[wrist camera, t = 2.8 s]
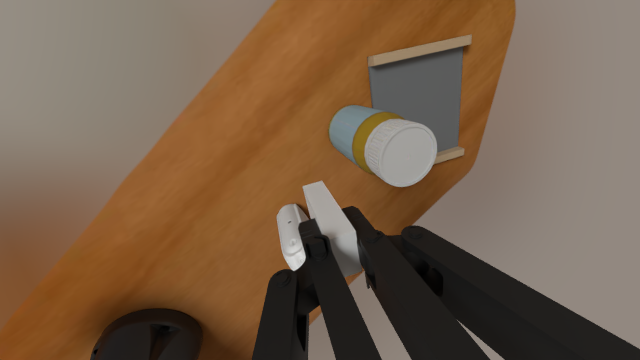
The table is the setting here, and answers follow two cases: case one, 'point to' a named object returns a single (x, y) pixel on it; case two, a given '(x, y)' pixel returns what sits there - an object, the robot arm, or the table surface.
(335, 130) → the bottle
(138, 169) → the table surface
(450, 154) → the grey tray
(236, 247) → the table surface
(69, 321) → the table surface
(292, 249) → the photo printer
